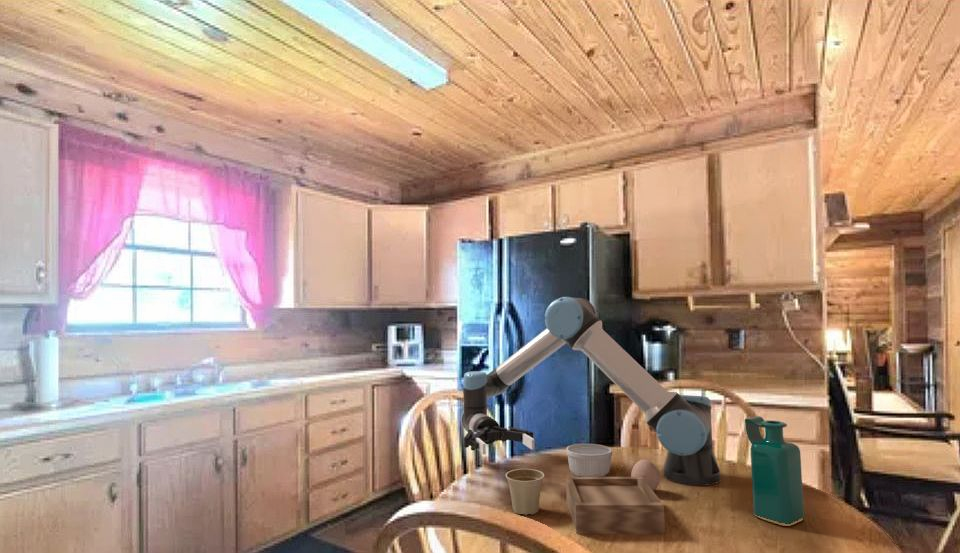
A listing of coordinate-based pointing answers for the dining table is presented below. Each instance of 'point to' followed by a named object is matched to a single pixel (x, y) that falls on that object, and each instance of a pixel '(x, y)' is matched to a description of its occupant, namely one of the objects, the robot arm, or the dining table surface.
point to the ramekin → (589, 460)
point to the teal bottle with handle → (775, 472)
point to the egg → (646, 473)
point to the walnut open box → (614, 506)
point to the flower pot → (525, 490)
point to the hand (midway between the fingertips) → (509, 446)
